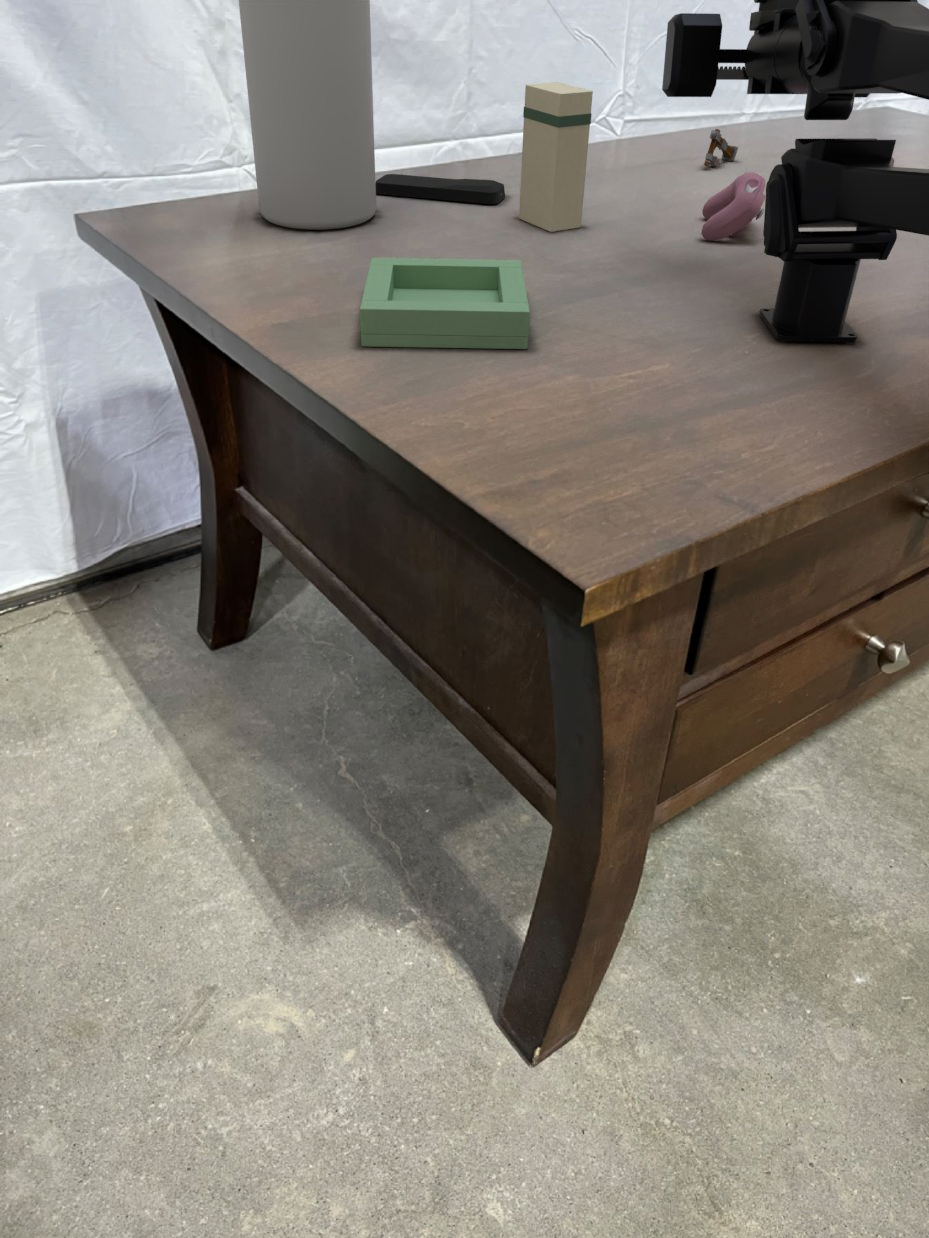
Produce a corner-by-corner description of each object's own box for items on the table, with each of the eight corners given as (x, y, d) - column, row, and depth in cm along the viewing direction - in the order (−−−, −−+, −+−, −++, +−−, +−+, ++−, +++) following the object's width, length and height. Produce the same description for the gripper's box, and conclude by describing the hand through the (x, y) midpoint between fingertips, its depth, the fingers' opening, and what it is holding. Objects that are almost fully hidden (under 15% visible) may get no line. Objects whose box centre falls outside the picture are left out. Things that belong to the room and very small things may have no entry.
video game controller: (734, 260, 102) (777, 198, 98) (697, 236, 102) (739, 173, 97) (732, 234, 110) (773, 176, 106) (698, 212, 109) (737, 152, 105)
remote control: (372, 198, 115) (496, 205, 112) (371, 182, 114) (496, 188, 111) (386, 189, 119) (507, 195, 115) (385, 173, 118) (507, 178, 114)
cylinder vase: (358, 197, 113) (347, -67, 98) (391, 226, 104) (384, -61, 89) (249, 205, 110) (221, -68, 95) (274, 236, 100) (246, -62, 85)
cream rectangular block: (581, 227, 105) (593, 91, 98) (550, 232, 104) (560, 94, 96) (548, 214, 109) (557, 82, 102) (517, 218, 108) (524, 84, 100)
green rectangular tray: (527, 349, 77) (530, 311, 75) (361, 346, 77) (359, 308, 75) (519, 294, 88) (521, 260, 86) (372, 291, 87) (371, 257, 86)
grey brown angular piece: (697, 162, 128) (708, 125, 126) (715, 179, 134) (726, 143, 133) (710, 164, 127) (721, 126, 126) (728, 181, 134) (738, 145, 132)
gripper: (941, -66, 76) (848, -41, 90) (707, -71, 74) (649, -45, 88) (910, 97, 81) (827, 97, 95) (691, 97, 79) (638, 97, 93)
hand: (738, 60), depth 93 cm, fingers open, 9 cm apart
